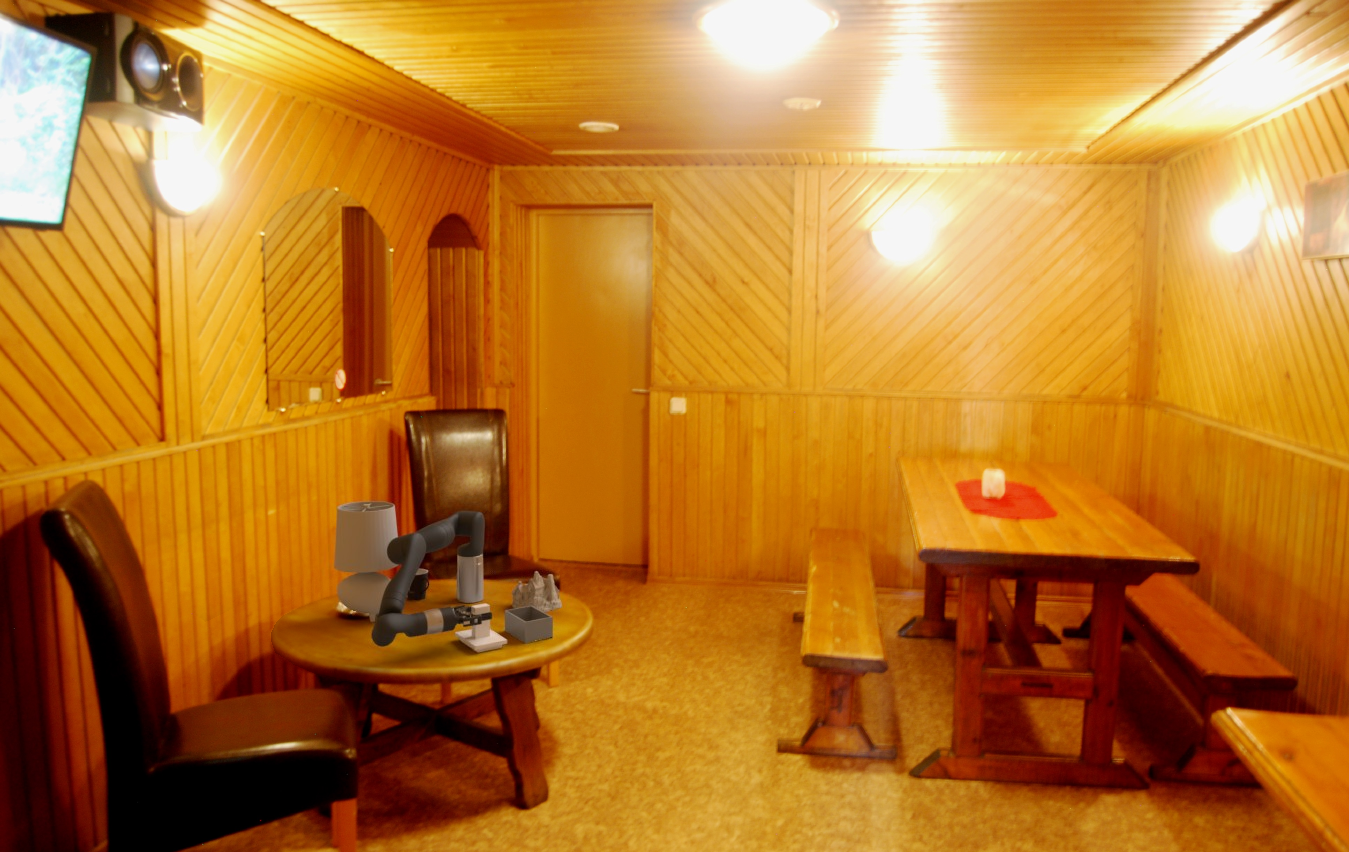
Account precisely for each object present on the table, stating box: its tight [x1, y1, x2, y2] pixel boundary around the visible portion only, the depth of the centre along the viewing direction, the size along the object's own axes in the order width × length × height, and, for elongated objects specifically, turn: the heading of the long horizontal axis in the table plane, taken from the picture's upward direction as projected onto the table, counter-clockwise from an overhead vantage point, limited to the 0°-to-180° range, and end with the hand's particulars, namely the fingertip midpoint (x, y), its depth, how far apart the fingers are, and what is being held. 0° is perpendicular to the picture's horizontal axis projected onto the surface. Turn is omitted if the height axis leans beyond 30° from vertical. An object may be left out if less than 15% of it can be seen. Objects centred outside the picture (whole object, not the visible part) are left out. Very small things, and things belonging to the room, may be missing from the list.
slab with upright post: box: [454, 602, 508, 653], centre depth 300 cm, size 11×16×13 cm
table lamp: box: [333, 500, 399, 623], centre depth 323 cm, size 23×22×40 cm
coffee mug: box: [407, 568, 430, 601], centre depth 347 cm, size 12×9×10 cm
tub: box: [504, 606, 554, 644], centre depth 310 cm, size 10×15×7 cm, turn 36°
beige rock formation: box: [510, 570, 563, 613], centre depth 341 cm, size 16×16×15 cm
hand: (486, 611), depth 301 cm, fingers open, 8 cm apart
